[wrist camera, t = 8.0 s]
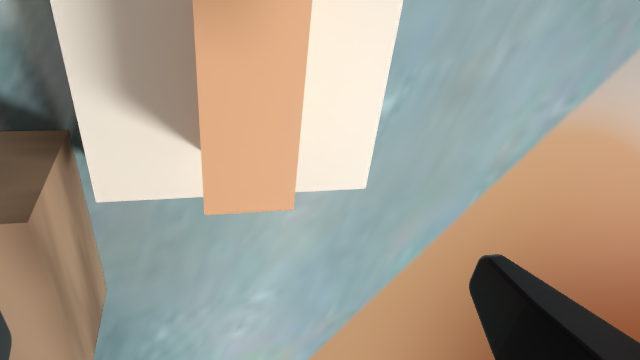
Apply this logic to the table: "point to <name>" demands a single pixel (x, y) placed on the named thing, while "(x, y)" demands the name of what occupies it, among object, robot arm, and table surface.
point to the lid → (227, 96)
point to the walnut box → (47, 250)
